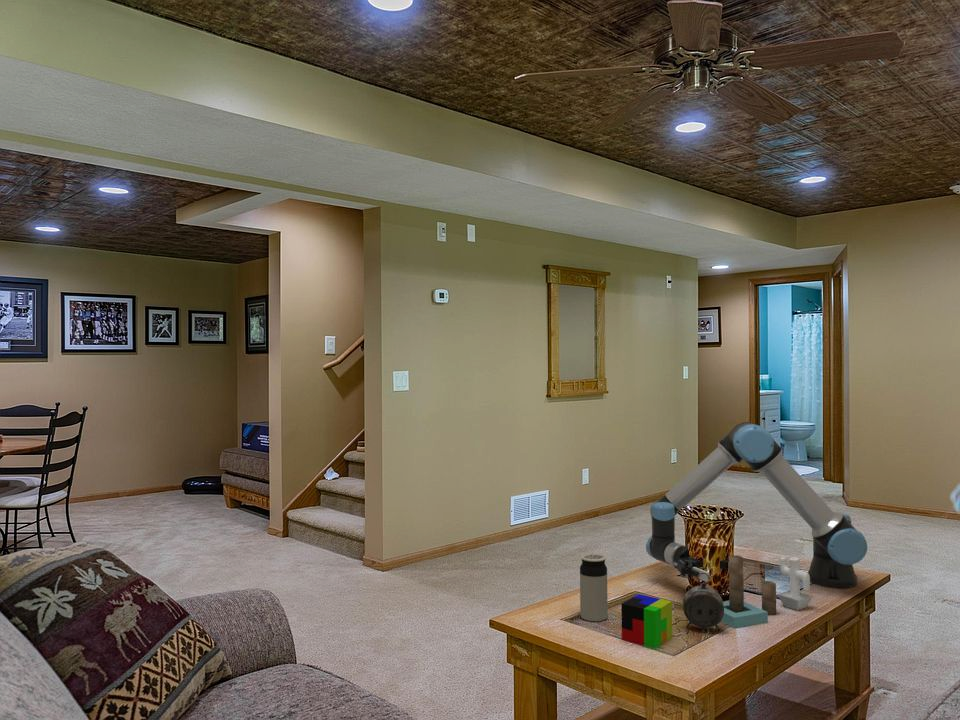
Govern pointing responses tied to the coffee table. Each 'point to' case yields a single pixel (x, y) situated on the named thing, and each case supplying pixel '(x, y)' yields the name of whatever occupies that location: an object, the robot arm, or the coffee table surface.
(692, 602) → the alarm clock
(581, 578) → the travel mug
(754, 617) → the teal square frame
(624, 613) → the puzzle toy
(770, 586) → the short dowel
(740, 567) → the long dowel
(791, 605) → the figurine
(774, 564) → the coffee table surface
